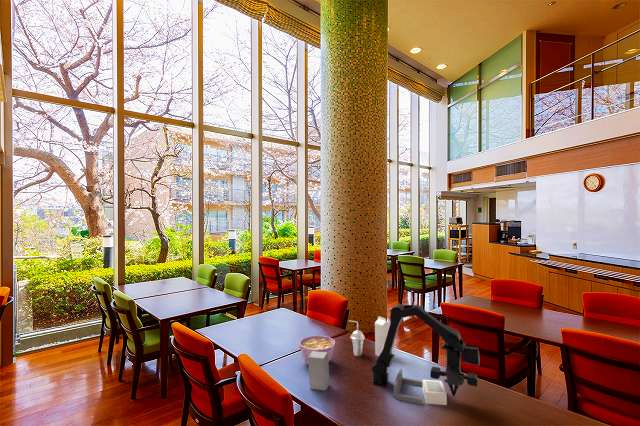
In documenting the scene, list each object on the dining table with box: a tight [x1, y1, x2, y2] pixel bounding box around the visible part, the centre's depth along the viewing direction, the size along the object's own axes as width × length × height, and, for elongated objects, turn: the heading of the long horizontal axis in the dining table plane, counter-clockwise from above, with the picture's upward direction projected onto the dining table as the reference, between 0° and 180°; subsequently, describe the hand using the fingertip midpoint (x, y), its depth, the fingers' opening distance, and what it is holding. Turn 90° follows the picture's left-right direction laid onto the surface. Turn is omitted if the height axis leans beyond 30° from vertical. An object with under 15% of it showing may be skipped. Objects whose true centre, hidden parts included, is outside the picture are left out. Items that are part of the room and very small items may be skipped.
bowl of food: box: [299, 334, 336, 364], centre depth 179 cm, size 20×20×12 cm
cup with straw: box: [348, 319, 366, 357], centre depth 189 cm, size 8×9×20 cm
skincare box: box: [307, 351, 330, 392], centre depth 154 cm, size 8×7×16 cm
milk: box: [374, 315, 390, 357], centre depth 187 cm, size 6×6×22 cm
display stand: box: [393, 368, 423, 406], centre depth 148 cm, size 12×16×6 cm
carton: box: [421, 379, 448, 406], centre depth 144 cm, size 8×11×5 cm
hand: (453, 395), depth 141 cm, fingers closed
